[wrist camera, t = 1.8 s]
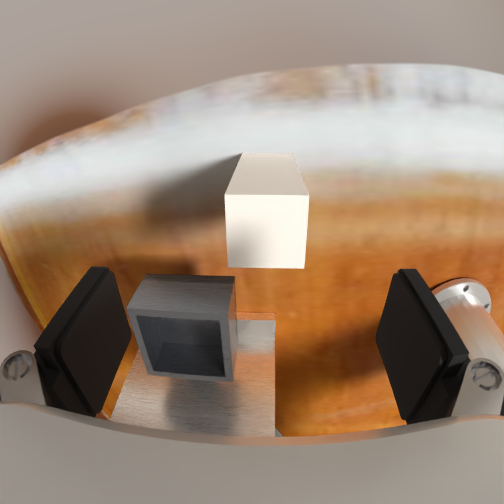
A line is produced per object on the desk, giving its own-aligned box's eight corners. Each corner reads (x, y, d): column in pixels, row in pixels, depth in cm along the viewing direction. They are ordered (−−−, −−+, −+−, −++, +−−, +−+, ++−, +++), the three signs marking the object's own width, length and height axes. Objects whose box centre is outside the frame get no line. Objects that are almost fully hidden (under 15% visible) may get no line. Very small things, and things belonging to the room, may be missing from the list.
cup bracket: (273, 352, 35) (272, 482, 21) (155, 346, 35) (114, 462, 21) (277, 246, 28) (283, 397, 14) (131, 244, 29) (45, 366, 15)
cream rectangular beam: (291, 200, 26) (303, 268, 17) (243, 199, 26) (228, 267, 17) (292, 153, 24) (309, 195, 15) (242, 152, 24) (224, 194, 15)
